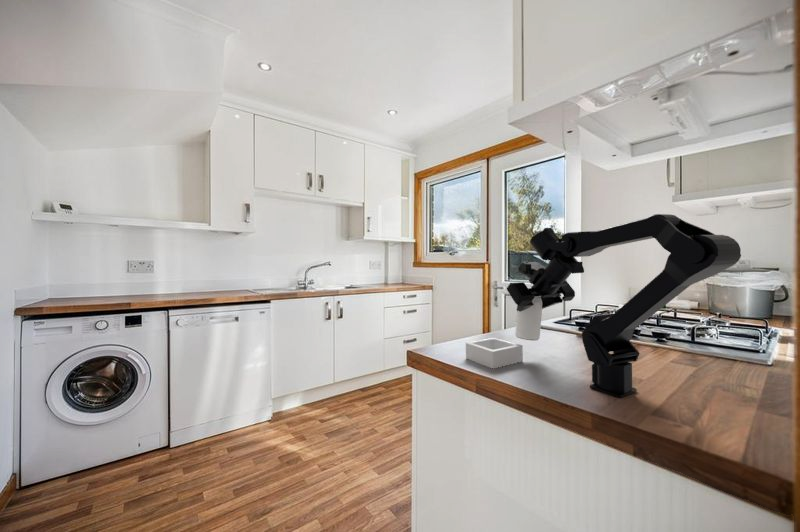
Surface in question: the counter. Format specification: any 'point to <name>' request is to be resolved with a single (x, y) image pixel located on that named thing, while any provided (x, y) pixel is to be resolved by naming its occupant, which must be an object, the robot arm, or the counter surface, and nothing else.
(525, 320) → the can
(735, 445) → the counter surface
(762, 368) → the counter surface
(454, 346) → the counter surface
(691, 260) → the robot arm
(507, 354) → the box
